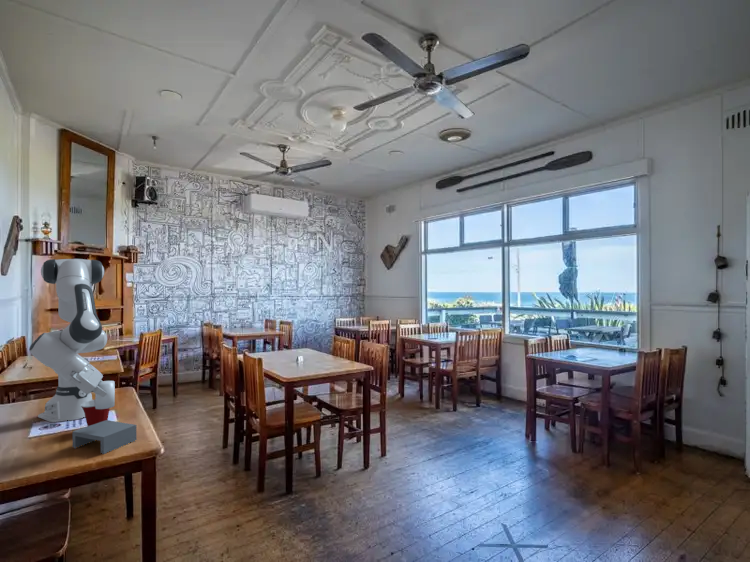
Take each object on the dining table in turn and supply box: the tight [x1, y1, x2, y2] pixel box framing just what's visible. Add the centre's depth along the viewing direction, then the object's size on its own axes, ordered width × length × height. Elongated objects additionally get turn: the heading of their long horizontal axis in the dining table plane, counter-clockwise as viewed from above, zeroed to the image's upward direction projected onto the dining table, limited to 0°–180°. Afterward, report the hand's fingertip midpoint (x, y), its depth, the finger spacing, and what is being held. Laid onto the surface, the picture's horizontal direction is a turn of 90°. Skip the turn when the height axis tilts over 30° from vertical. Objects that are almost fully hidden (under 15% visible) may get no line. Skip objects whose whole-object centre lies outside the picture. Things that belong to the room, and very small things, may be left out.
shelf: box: [72, 420, 137, 455], centre depth 154 cm, size 16×13×6 cm
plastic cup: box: [81, 399, 110, 426], centre depth 169 cm, size 11×11×12 cm
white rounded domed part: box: [94, 380, 116, 409], centre depth 154 cm, size 6×6×9 cm
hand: (106, 392), depth 154 cm, fingers closed on white rounded domed part, 6 cm apart
